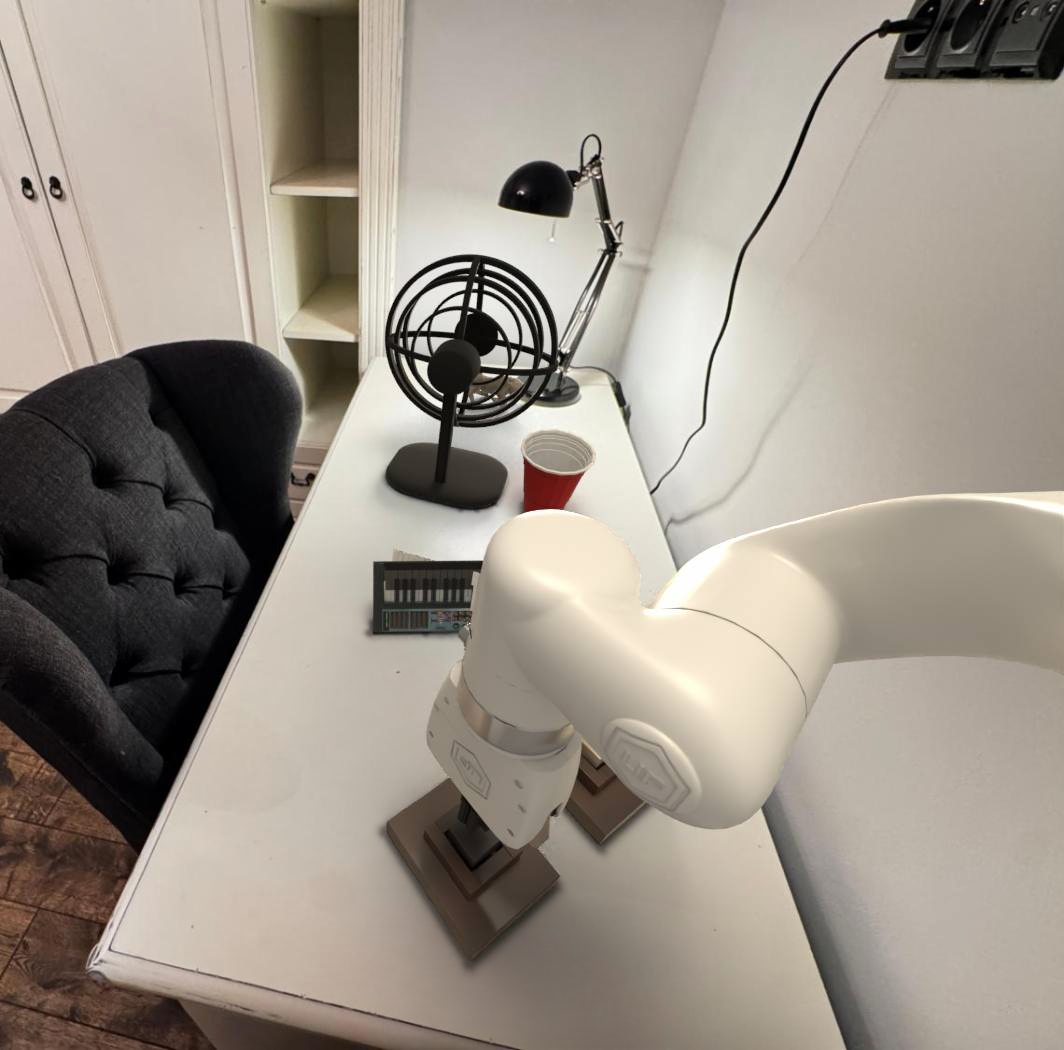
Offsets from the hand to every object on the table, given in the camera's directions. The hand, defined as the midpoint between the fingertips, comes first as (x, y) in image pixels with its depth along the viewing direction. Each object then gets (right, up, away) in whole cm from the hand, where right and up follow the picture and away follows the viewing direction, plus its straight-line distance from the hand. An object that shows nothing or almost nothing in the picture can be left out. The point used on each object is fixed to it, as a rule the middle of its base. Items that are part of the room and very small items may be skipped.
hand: (477, 816), depth 47 cm
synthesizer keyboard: (+3, +12, +27) cm, 30 cm away
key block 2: (+14, -1, +12) cm, 18 cm away
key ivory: (+14, +2, +10) cm, 17 cm away
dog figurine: (+18, +50, +72) cm, 89 cm away
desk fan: (+5, +33, +52) cm, 62 cm away
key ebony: (0, -4, +3) cm, 5 cm away
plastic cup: (+19, +26, +44) cm, 55 cm away
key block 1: (0, -6, +5) cm, 8 cm away
